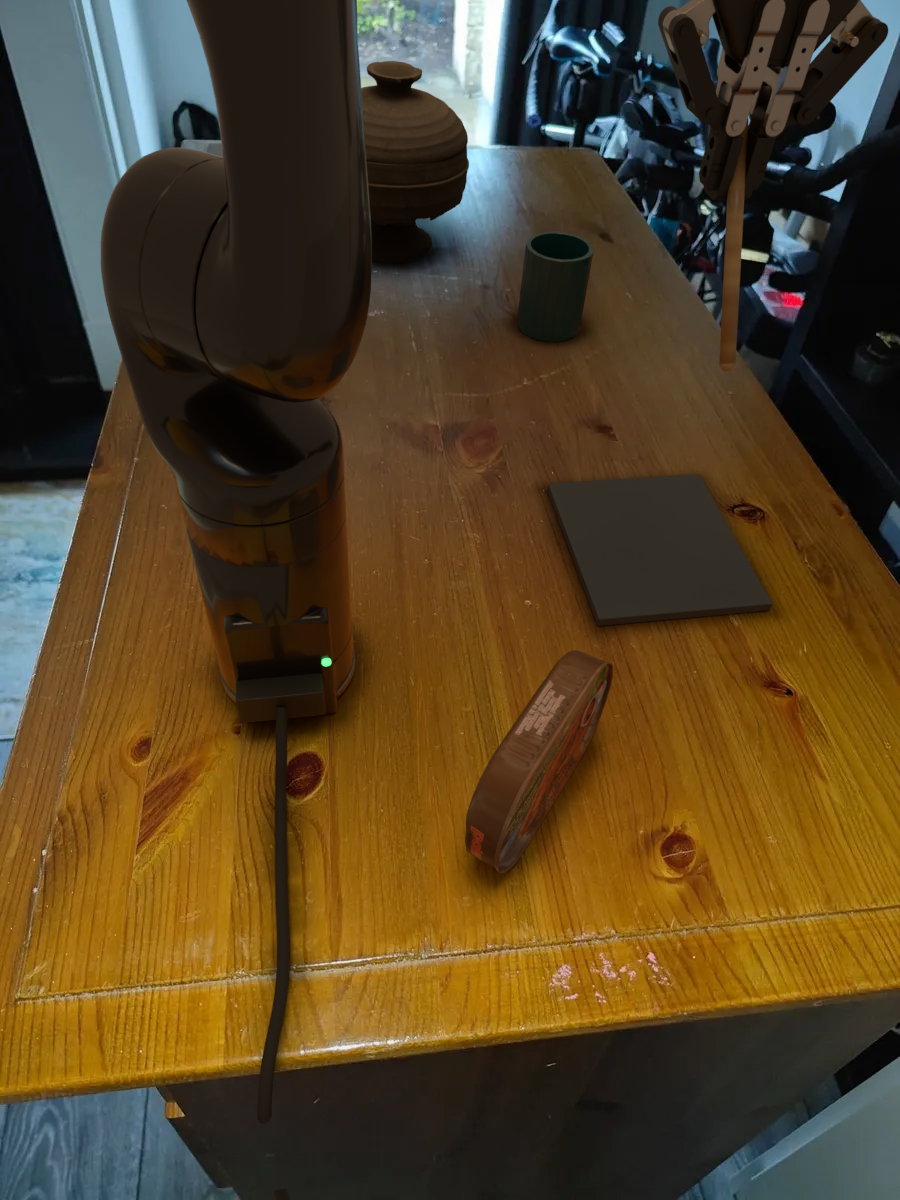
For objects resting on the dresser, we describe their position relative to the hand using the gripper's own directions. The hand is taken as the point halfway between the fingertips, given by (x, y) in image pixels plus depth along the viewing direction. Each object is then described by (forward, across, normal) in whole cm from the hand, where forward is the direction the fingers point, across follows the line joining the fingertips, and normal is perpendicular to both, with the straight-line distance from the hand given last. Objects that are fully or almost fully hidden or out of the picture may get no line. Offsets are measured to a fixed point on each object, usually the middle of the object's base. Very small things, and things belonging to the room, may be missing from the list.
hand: (726, 194), depth 53 cm
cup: (+27, 0, +32) cm, 42 cm away
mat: (+27, 0, -4) cm, 27 cm away
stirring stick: (+2, 0, -3) cm, 4 cm away
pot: (+27, -14, +53) cm, 61 cm away
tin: (+27, -15, -25) cm, 40 cm away
